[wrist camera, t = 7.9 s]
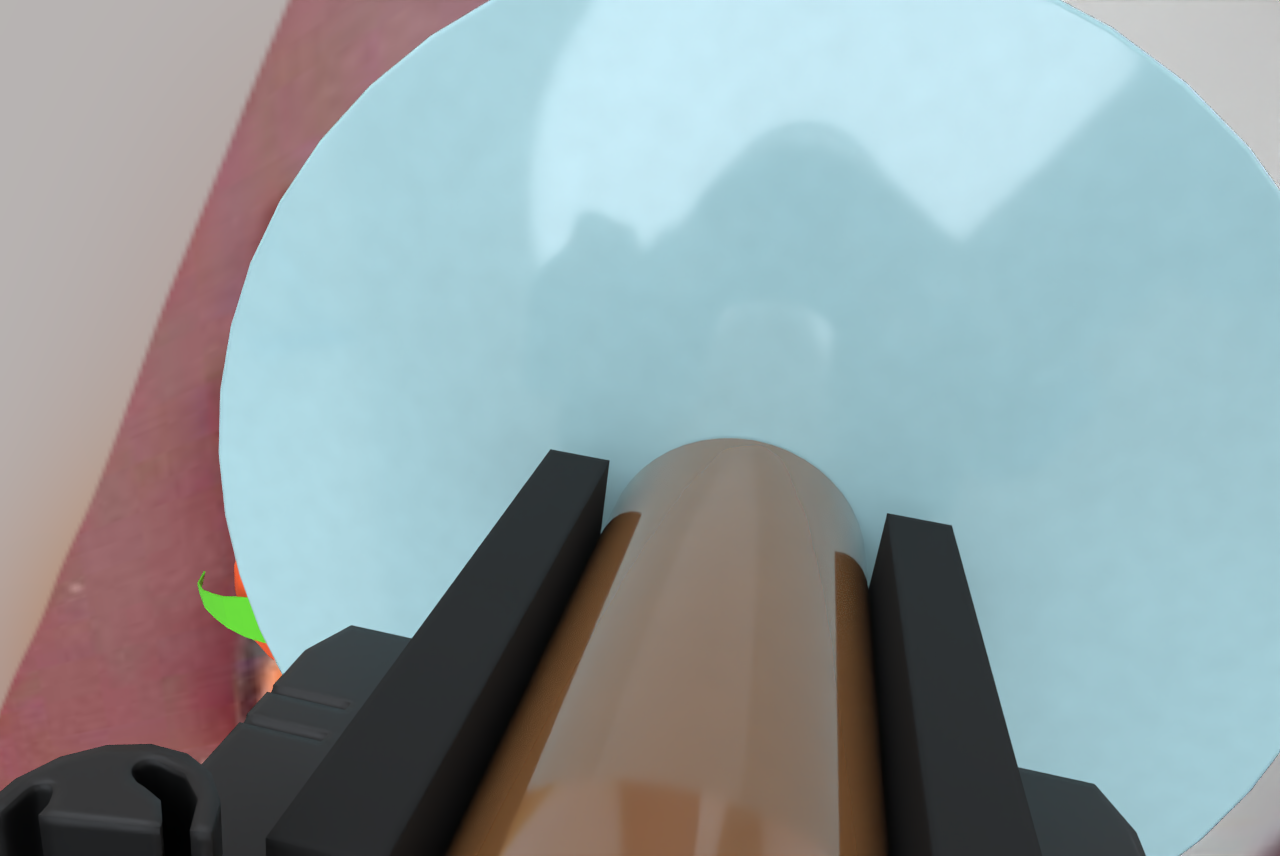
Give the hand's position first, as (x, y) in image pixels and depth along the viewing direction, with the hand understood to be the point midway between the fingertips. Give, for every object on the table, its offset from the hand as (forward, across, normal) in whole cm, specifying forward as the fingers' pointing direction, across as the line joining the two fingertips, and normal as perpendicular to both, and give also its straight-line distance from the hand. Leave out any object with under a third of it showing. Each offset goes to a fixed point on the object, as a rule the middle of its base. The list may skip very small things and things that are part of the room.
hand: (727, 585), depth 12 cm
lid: (+1, 0, 0) cm, 1 cm away
